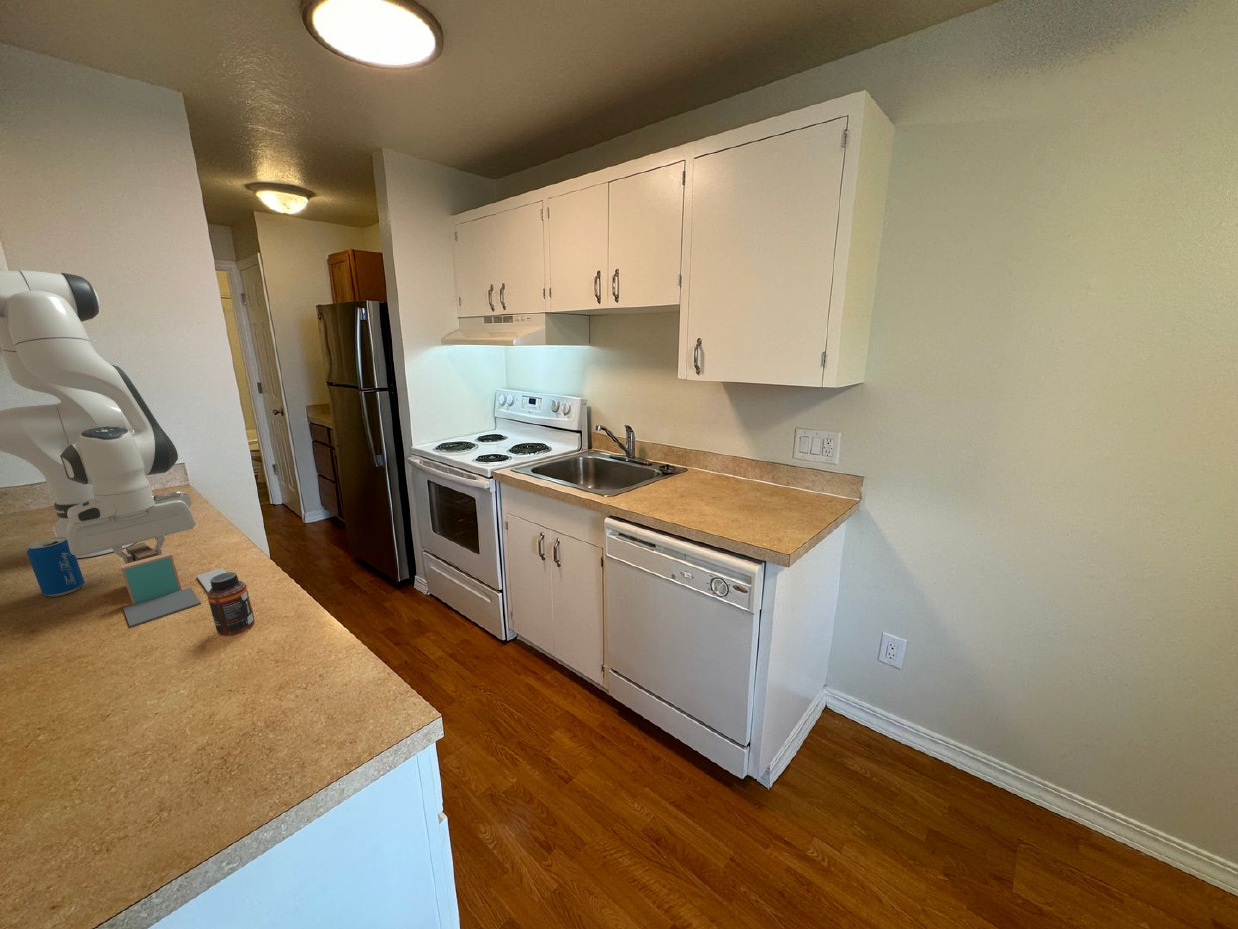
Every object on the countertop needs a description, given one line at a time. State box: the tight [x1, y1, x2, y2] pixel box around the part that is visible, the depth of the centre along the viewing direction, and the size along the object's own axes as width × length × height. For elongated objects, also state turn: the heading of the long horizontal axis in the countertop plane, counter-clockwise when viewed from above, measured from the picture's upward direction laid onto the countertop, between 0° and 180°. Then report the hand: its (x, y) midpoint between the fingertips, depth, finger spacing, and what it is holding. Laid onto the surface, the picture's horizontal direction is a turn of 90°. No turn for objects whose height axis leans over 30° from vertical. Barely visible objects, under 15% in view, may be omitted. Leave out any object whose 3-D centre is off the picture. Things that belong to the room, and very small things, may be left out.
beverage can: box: [26, 536, 86, 598], centre depth 108 cm, size 6×6×12 cm
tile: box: [119, 552, 183, 605], centre depth 106 cm, size 2×8×9 cm, turn 140°
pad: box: [196, 567, 228, 593], centre depth 113 cm, size 12×5×1 cm, turn 50°
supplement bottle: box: [207, 571, 255, 637], centre depth 94 cm, size 6×6×11 cm
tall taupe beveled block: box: [125, 542, 158, 562], centre depth 109 cm, size 10×3×4 cm, turn 56°
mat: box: [122, 586, 202, 628], centre depth 103 cm, size 10×11×1 cm
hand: (143, 559), depth 110 cm, fingers closed on tall taupe beveled block, 3 cm apart
